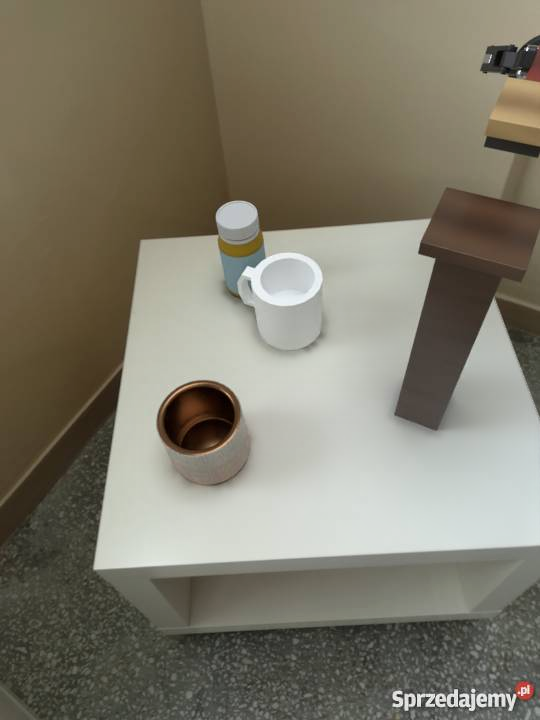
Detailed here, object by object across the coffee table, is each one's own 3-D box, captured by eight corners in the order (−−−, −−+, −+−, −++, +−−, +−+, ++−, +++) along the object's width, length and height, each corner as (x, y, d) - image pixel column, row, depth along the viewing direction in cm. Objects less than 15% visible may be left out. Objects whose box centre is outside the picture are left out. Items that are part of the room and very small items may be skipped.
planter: (242, 406, 76) (234, 370, 68) (257, 476, 70) (250, 445, 62) (168, 423, 76) (151, 388, 68) (177, 495, 70) (159, 466, 62)
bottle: (230, 267, 92) (217, 197, 79) (270, 269, 91) (263, 199, 78) (223, 298, 88) (208, 230, 75) (264, 301, 87) (256, 232, 75)
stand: (400, 372, 78) (446, 186, 50) (461, 394, 75) (545, 210, 48) (381, 416, 74) (420, 241, 46) (445, 441, 71) (526, 270, 44)
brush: (525, 46, 56) (534, 17, 54) (576, 54, 54) (587, 24, 52) (480, 148, 47) (489, 118, 44) (539, 160, 45) (552, 130, 43)
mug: (228, 330, 84) (217, 285, 75) (257, 286, 89) (250, 238, 80) (305, 359, 80) (304, 315, 71) (332, 310, 85) (334, 264, 76)
